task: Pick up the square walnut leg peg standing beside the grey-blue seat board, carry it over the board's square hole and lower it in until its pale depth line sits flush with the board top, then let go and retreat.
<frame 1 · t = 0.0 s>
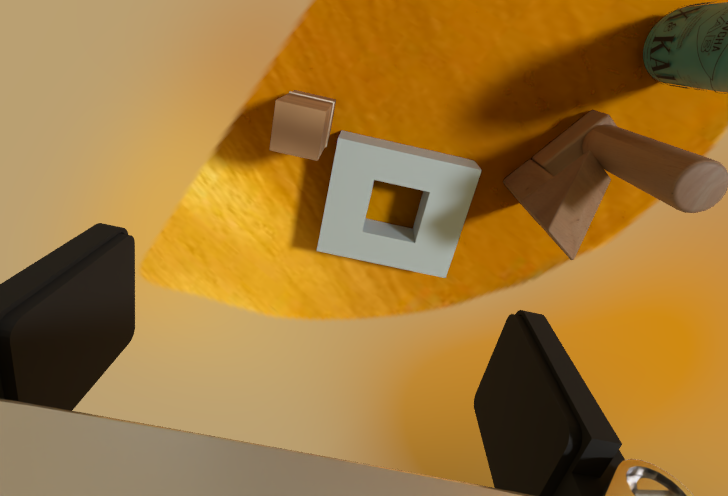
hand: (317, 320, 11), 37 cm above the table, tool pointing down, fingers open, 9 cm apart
beverage bottle: (665, 46, 41), on the table
peg: (314, 113, 45), on the table
brown wedge-headed part: (553, 157, 46), on the table
seat board: (394, 199, 48), on the table
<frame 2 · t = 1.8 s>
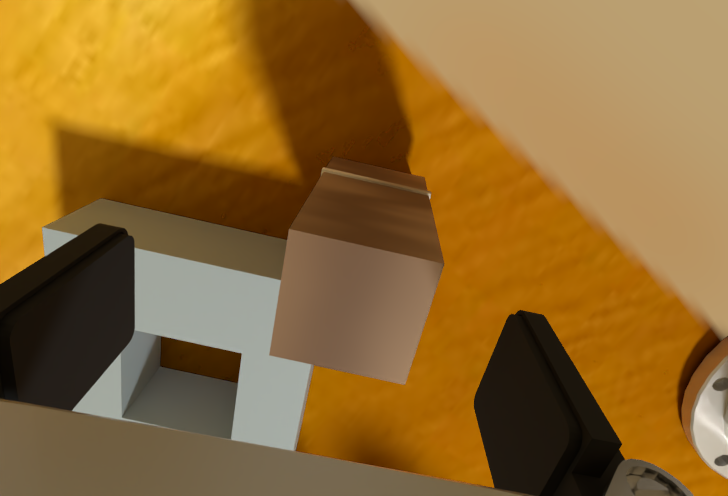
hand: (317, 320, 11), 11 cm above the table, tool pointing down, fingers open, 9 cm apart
peg: (370, 199, 21), on the table
seat board: (210, 338, 25), on the table
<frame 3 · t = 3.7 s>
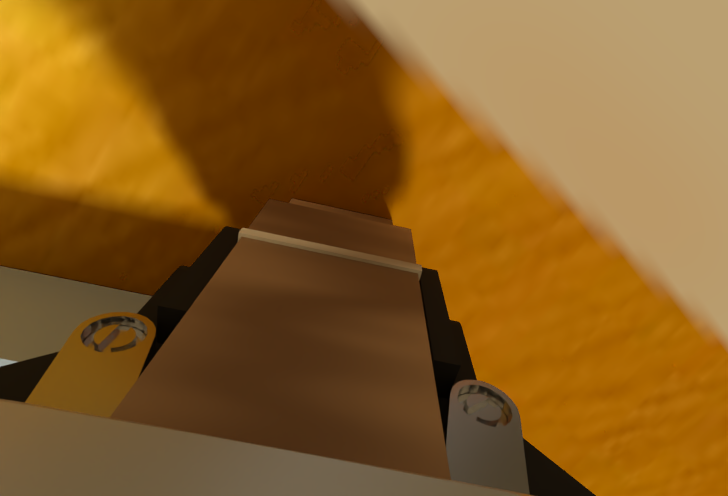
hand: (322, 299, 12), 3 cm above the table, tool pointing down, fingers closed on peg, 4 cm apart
peg: (332, 254, 14), on the table, touching gripper
seat board: (122, 434, 18), on the table
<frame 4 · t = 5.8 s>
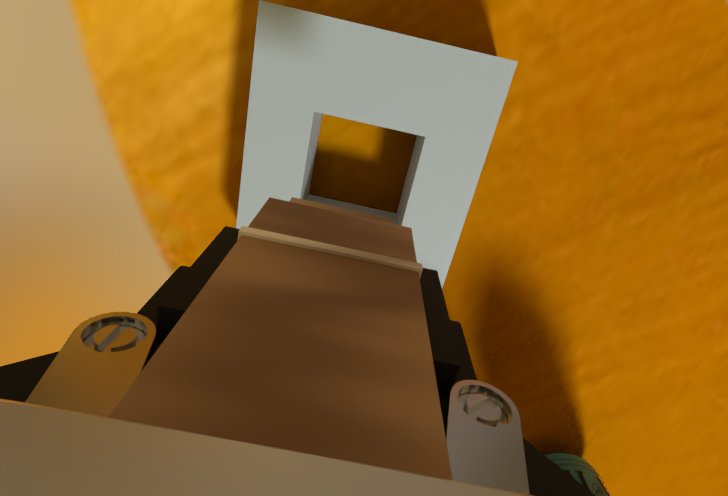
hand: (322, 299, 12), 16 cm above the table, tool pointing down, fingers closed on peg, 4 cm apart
beverage bottle: (547, 461, 36), on the table
peg: (333, 253, 14), point 13 cm above the table, touching gripper
seat board: (362, 160, 27), on the table
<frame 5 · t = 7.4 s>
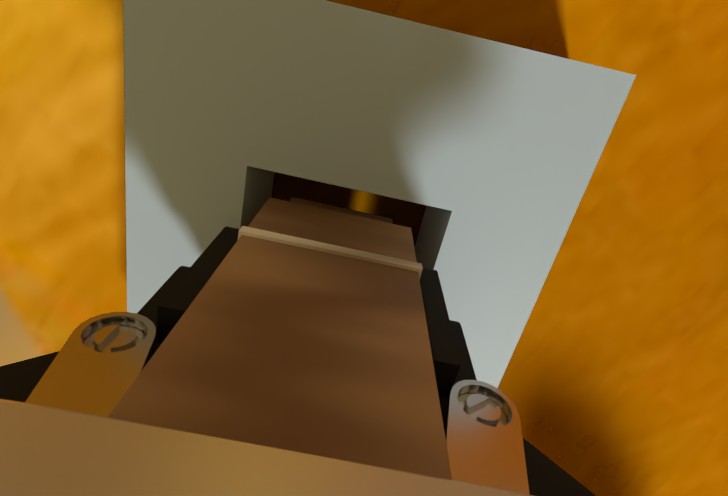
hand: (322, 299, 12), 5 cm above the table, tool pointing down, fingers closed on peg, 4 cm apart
peg: (333, 253, 14), point 2 cm above the table, touching gripper
seat board: (343, 227, 17), on the table
when the fingers open (5 cm above the table, at t = 8.4 s): peg drops 2 cm, resting in seat board.
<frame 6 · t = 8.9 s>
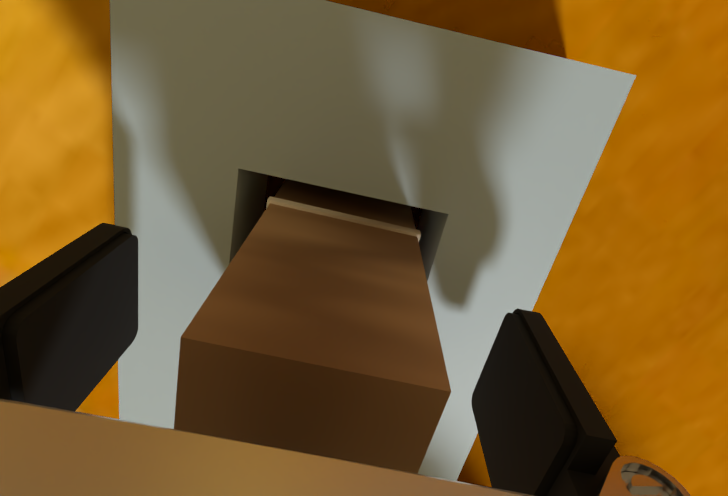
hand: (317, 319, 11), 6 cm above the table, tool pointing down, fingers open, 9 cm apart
peg: (340, 229, 16), resting in seat board
seat board: (338, 230, 16), on the table
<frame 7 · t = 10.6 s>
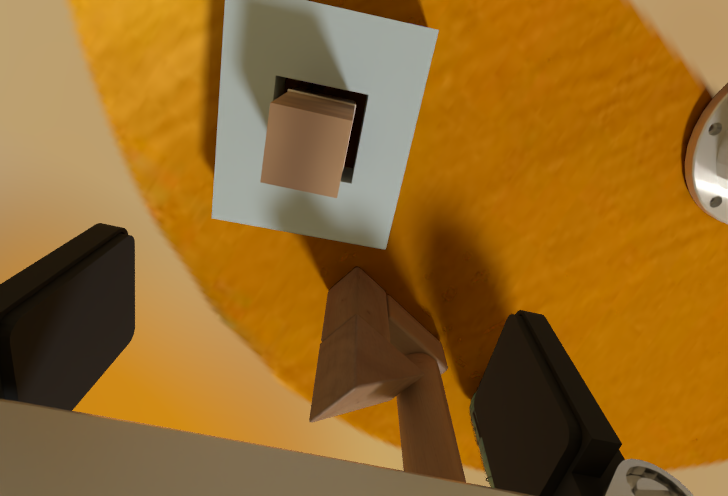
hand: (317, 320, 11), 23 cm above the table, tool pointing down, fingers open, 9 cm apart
beverage bottle: (497, 390, 42), on the table
peg: (322, 121, 31), resting in seat board
brown wedge-headed part: (385, 315, 38), on the table
seat board: (321, 122, 31), on the table
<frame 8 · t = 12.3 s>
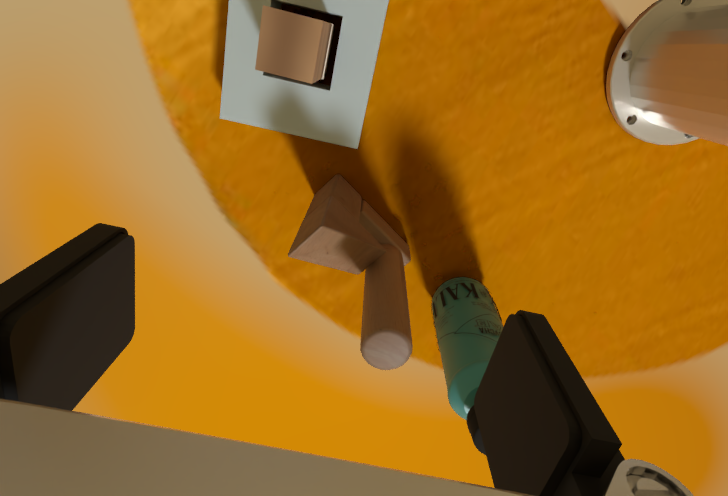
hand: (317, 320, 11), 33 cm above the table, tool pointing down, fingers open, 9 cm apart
beverage bottle: (457, 292, 49), on the table
peg: (309, 45, 39), resting in seat board
brown wedge-headed part: (362, 220, 46), on the table
seat board: (309, 46, 39), on the table
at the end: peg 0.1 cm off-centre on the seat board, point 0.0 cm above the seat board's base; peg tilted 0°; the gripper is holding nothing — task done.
